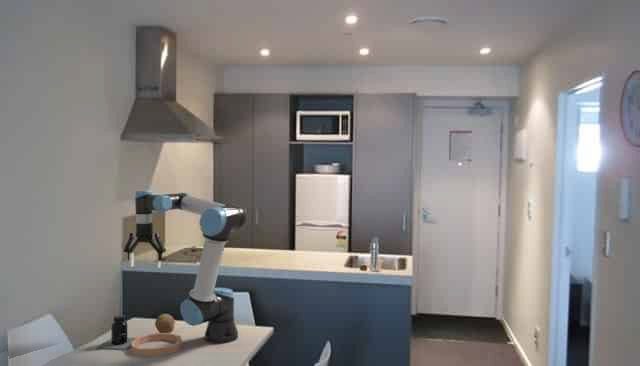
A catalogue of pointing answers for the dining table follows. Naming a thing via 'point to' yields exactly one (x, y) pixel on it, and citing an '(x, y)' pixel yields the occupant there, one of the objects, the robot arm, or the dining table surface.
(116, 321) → the supplement bottle
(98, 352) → the dining table surface
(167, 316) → the natural sponge
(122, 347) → the mat
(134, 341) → the pink polygonal hoop
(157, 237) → the robot arm
